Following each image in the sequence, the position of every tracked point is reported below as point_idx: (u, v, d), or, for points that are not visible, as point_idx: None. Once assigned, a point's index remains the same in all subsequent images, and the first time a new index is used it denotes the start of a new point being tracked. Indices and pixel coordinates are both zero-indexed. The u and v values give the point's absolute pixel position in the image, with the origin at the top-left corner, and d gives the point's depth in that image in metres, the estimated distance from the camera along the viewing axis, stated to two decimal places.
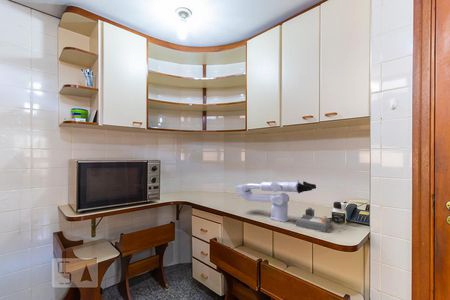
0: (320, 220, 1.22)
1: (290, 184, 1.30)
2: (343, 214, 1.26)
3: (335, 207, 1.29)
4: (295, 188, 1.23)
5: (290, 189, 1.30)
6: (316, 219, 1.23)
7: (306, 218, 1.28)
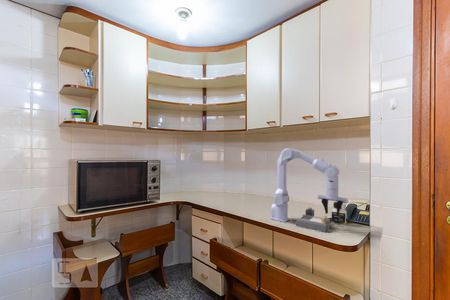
0: (320, 220, 1.22)
1: None
2: (343, 214, 1.26)
3: (335, 207, 1.29)
4: (347, 201, 1.14)
5: (337, 191, 1.16)
6: (316, 219, 1.23)
7: (306, 218, 1.28)
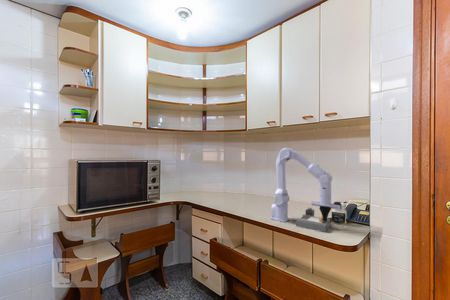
0: (318, 220, 1.22)
1: None
2: (343, 214, 1.26)
3: None
4: None
5: (329, 198, 1.18)
6: (314, 219, 1.24)
7: (306, 218, 1.28)
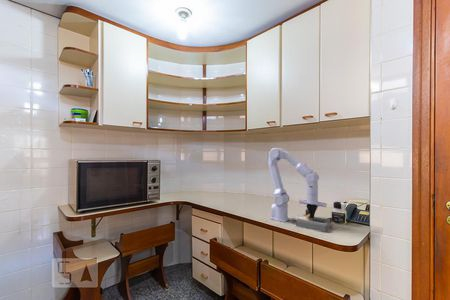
0: (305, 217, 1.27)
1: None
2: (343, 214, 1.26)
3: (335, 207, 1.29)
4: None
5: (316, 196, 1.22)
6: (302, 216, 1.28)
7: None
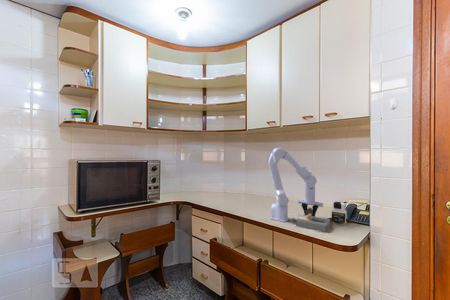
0: (305, 217, 1.27)
1: None
2: (343, 214, 1.26)
3: (335, 207, 1.29)
4: (322, 205, 1.31)
5: (313, 196, 1.32)
6: (301, 216, 1.28)
7: None
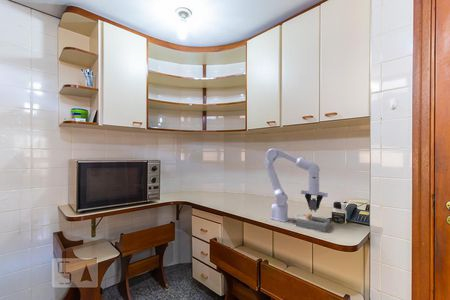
0: (305, 217, 1.27)
1: None
2: (343, 214, 1.26)
3: (335, 207, 1.29)
4: (327, 195, 1.25)
5: (317, 186, 1.27)
6: (301, 216, 1.28)
7: None
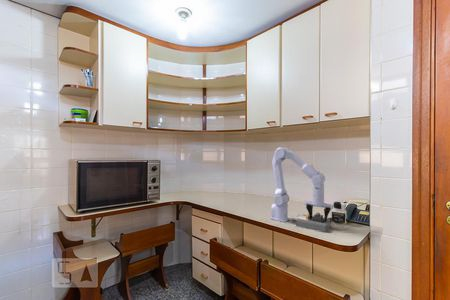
0: (305, 217, 1.27)
1: None
2: (343, 214, 1.26)
3: (335, 207, 1.29)
4: (332, 207, 1.18)
5: (322, 198, 1.20)
6: (301, 216, 1.29)
7: None
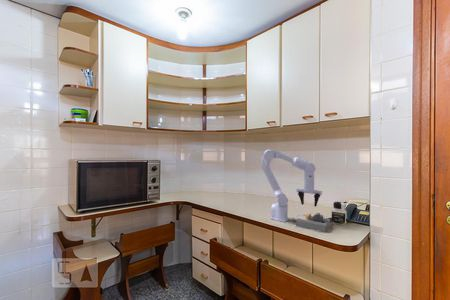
0: (305, 217, 1.27)
1: None
2: (343, 214, 1.26)
3: (335, 207, 1.29)
4: (321, 193, 1.29)
5: (312, 184, 1.31)
6: (301, 216, 1.29)
7: None
